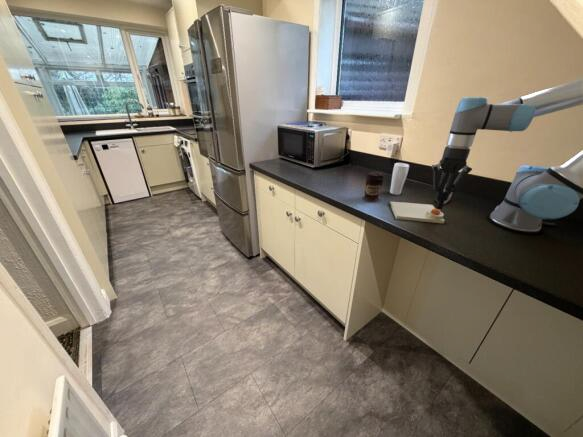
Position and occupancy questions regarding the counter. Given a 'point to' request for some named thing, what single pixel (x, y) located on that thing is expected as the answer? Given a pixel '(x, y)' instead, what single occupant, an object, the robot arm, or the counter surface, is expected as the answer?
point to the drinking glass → (398, 177)
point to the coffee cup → (373, 185)
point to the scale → (415, 212)
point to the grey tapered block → (448, 197)
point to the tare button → (435, 211)
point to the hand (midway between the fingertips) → (438, 207)
